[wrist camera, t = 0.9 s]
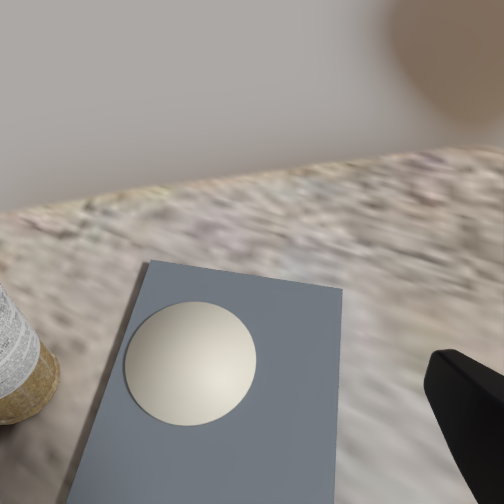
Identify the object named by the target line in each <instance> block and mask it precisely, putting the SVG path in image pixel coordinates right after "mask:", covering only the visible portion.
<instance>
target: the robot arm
mask: <svg viewBox="0 0 504 504" xmlns="http://www.w3.org/2000/svg"><path fill="white" fill-rule="evenodd" d="M424 391H425V394H426V396H427V399H428V401H429V403H430V405H431V408H432V410H433V412H434V415H435V417H436V419H437V422H438V424H439V426H440V428H441V431H442V433H443V435H444V438H445V440H446V442H447V445H448V447H449V449H450V452H451V454H452V456H453V458H454V460H455V462H456V464H457V466H458V468H459V470H460V472H461V474H462V476H463V477H464V479H465V481H466V483H467V485H468V486H469V488H470V490H471V492H472V494H473V495H474V497H475V499H476V501H477V503H478V504H504V376H503V375H501V374H499V373H498V372H496V371H494V370H492V369H490V368H488V367H486V366H485V365H483V364H481V363H479V362H477V361H475V360H473V359H472V358H470V357H468V356H466V355H464V354H462V353H460V352H459V351H457V350H454V349H445V350H436V351H434V352H433V353H432V354H431V357H430V360H429V364H428V367H427V371H426V374H425V378H424Z"/></svg>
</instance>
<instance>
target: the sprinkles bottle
mask: <svg viewBox="0 0 504 504" xmlns="http://www.w3.org/2000/svg"><path fill="white" fill-rule="evenodd" d="M59 379H60V368H59V363H58V360H57V358H56V356H55V355H54V353H53V352H52V351H51V350H50V349H49V348H47V347H46V346H44V345H43V343H42V342H41V341H40V339H39V338H38V336H37V333H36V332H35V330H34V329H33V327H32V326H31V325H30V323H29V322H28V321H27V319H26V318H25V316H24V315H23V314H22V312H21V311H20V310H19V308H18V307H17V306H16V304H15V303H14V302H13V300H12V299H11V297H10V296H9V295H8V293H7V292H6V291H5V289H4V288H3V287H2V285H1V284H0V425H9V424H14V423H17V422H20V421H23V420H25V419H27V418H30V417H31V416H33V415H35V414H36V413H38V412H39V411H40V410H41V409H42V408H43V407H44V406H45V405H46V404H47V403H48V402H49V401H50V399H51V398H52V396H53V395H54V393H55V391H56V389H57V386H58V384H59Z"/></svg>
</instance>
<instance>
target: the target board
mask: <svg viewBox="0 0 504 504" xmlns="http://www.w3.org/2000/svg"><path fill="white" fill-rule="evenodd" d="M341 314H342V289H339V288H332V287H326V286H319V285H313V284H306V283H300V282H293V281H286V280H280V279H273V278H267V277H260V276H254V275H247V274H241V273H234V272H228V271H221V270H214V269H208V268H201V267H195V266H188V265H182V264H175V263H169V262H162V261H156V260H151V261H150V264H149V266H148V269H147V272H146V275H145V278H144V281H143V284H142V287H141V289H140V292H139V295H138V298H137V301H136V304H135V307H134V309H133V312H132V315H131V318H130V321H129V324H128V327H127V329H126V332H125V335H124V338H123V341H122V344H121V347H120V349H119V352H118V355H117V358H116V361H115V364H114V367H113V369H112V372H111V375H110V378H109V381H108V384H107V387H106V389H105V392H104V395H103V398H102V401H101V404H100V407H99V409H98V412H97V415H96V418H95V421H94V424H93V427H92V429H91V432H90V435H89V438H88V441H87V444H86V447H85V449H84V452H83V455H82V458H81V461H80V464H79V467H78V469H77V472H76V475H75V478H74V481H73V484H72V487H71V490H70V492H69V495H68V498H67V501H66V504H334V486H335V461H336V437H337V412H338V388H339V363H340V338H341Z"/></svg>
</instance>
